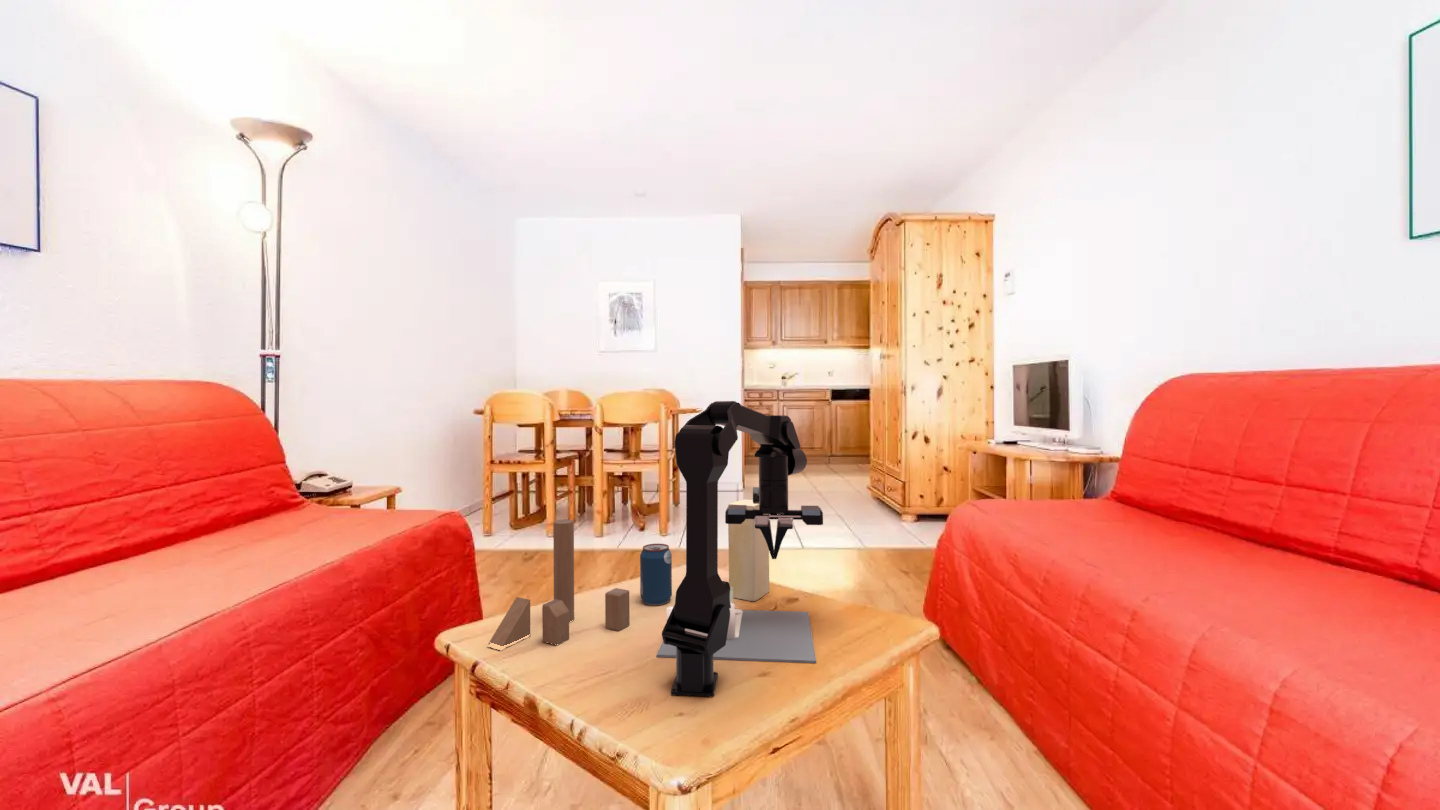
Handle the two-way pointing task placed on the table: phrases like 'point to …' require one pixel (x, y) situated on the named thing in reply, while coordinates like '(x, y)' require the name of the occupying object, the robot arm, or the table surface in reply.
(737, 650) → the card
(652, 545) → the soda can
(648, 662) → the table surface
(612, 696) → the table surface
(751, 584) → the tall beige block
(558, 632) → the wooden blocks
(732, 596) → the swinging fence panel
